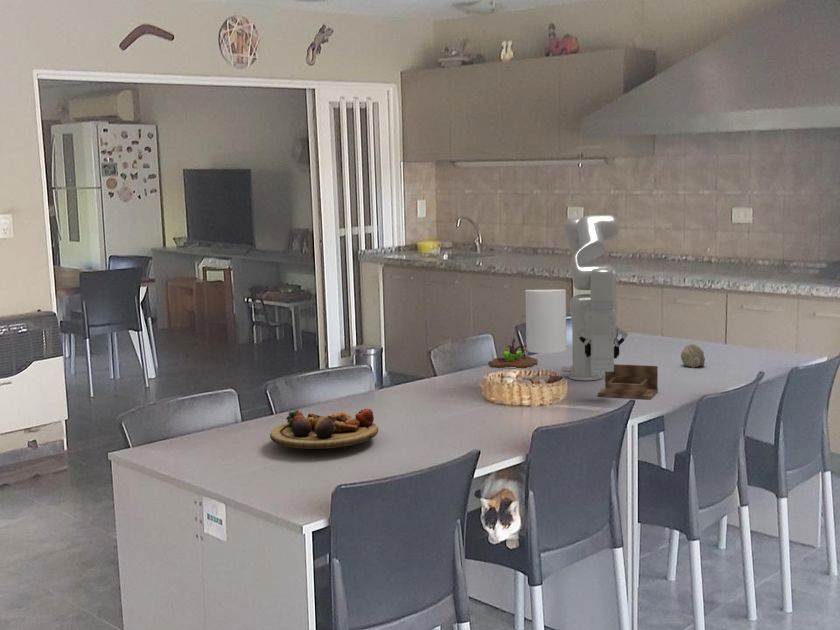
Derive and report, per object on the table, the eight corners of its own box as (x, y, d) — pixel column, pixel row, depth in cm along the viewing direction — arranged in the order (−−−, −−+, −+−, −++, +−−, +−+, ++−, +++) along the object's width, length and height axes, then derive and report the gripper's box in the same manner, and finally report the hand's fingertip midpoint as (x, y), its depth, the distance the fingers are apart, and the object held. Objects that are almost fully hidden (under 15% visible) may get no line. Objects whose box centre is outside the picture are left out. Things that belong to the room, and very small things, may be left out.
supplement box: (612, 367, 332) (612, 330, 330) (614, 372, 324) (614, 334, 322) (590, 367, 332) (589, 330, 331) (591, 372, 325) (591, 334, 323)
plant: (543, 363, 406) (542, 336, 404) (532, 371, 388) (531, 343, 386) (496, 361, 413) (496, 335, 411) (483, 370, 394) (482, 342, 393)
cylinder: (565, 357, 417) (564, 291, 414) (524, 356, 421) (523, 291, 417) (567, 350, 434) (566, 287, 431) (528, 350, 438) (527, 288, 434)
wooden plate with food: (379, 422, 308) (378, 396, 307) (377, 448, 276) (376, 419, 275) (277, 426, 308) (276, 400, 307) (263, 452, 276) (261, 423, 275)
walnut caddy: (597, 396, 335) (597, 370, 334) (606, 389, 347) (606, 363, 346) (650, 399, 328) (650, 372, 327) (657, 391, 340) (657, 365, 338)
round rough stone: (707, 370, 376) (707, 345, 375) (684, 371, 376) (684, 345, 375) (700, 366, 385) (700, 341, 384) (678, 367, 386) (678, 342, 384)
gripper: (573, 306, 325) (573, 357, 328) (625, 308, 318) (625, 360, 321) (579, 303, 332) (579, 353, 334) (630, 305, 325) (630, 356, 328)
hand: (602, 357), depth 328 cm, fingers closed on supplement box, 8 cm apart
